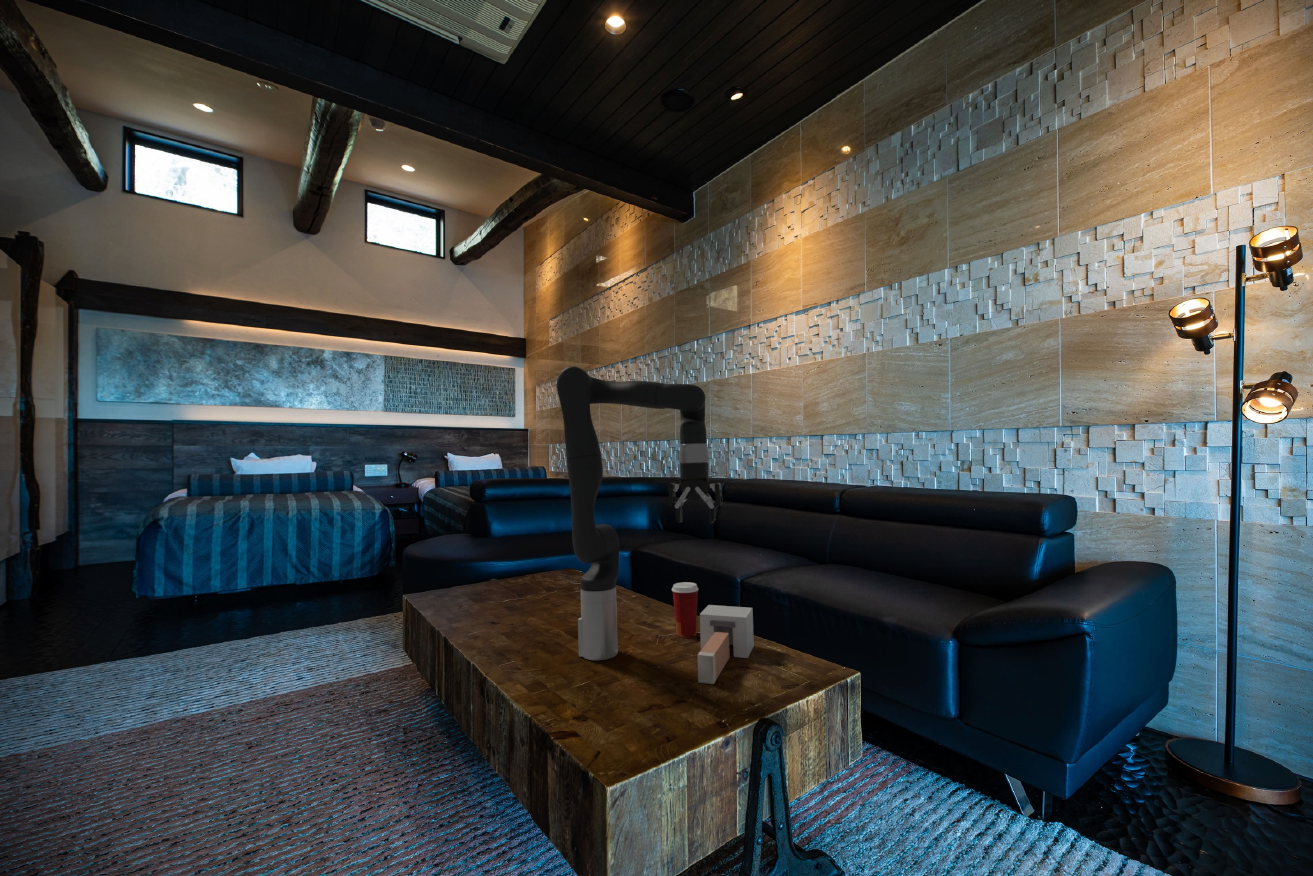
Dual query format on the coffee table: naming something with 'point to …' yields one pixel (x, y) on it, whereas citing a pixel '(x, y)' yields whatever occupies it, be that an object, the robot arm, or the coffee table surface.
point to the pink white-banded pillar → (713, 657)
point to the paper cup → (685, 608)
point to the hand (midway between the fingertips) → (695, 522)
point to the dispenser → (729, 627)
